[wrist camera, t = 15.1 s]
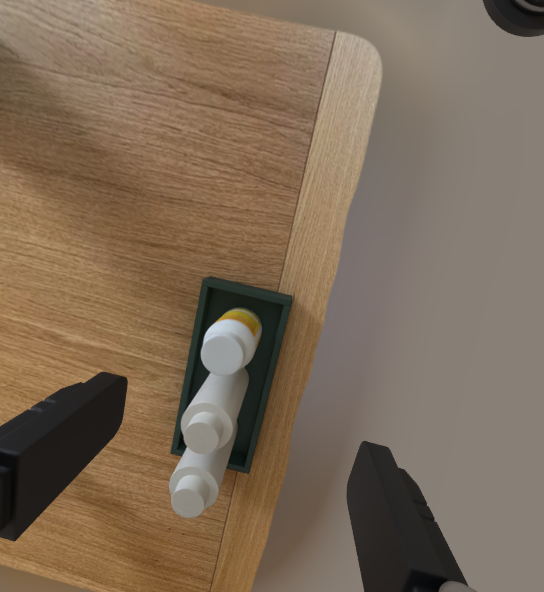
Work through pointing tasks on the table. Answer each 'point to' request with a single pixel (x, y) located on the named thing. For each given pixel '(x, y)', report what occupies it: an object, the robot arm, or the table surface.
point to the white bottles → (207, 442)
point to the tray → (260, 369)
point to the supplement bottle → (231, 341)
